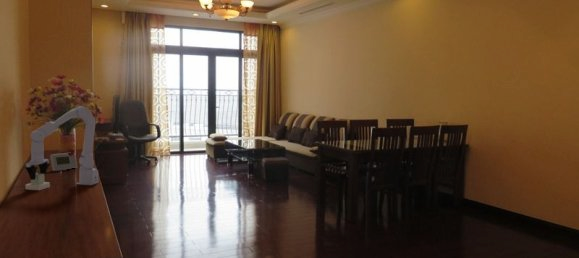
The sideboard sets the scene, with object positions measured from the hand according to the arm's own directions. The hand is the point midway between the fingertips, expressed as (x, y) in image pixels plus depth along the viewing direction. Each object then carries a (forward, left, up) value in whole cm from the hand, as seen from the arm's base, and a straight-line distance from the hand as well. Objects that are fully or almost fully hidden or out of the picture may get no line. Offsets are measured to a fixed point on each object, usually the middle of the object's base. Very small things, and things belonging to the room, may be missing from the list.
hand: (37, 178), depth 227 cm
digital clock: (+18, -47, -6) cm, 50 cm away
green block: (0, 0, -3) cm, 3 cm away
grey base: (0, 0, -6) cm, 6 cm away
